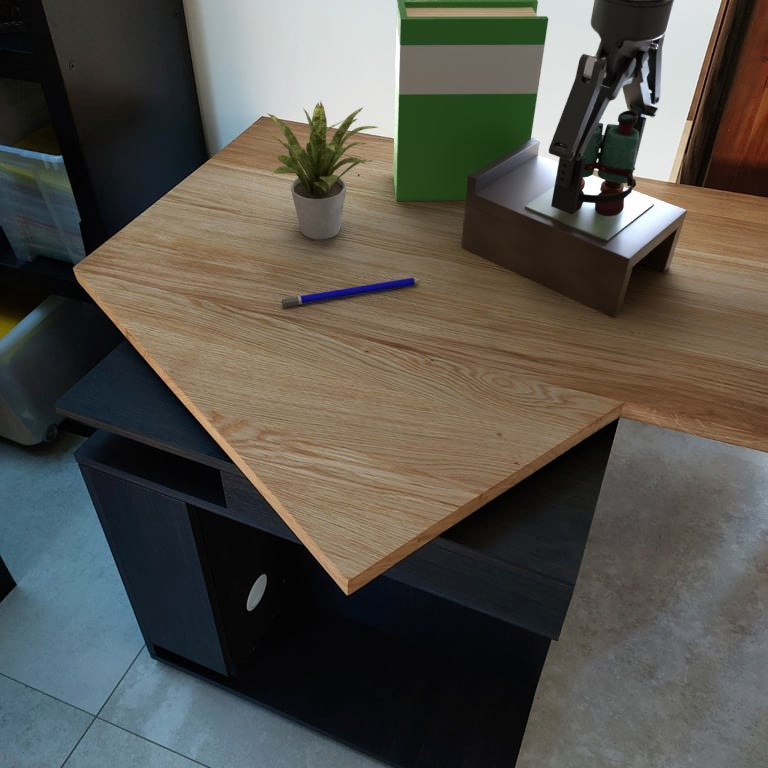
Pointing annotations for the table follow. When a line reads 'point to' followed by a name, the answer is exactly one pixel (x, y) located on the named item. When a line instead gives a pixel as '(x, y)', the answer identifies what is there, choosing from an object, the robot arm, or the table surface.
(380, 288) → the pencil
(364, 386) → the table surface
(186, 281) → the table surface
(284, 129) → the house plant
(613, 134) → the binoculars
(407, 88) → the hardback book
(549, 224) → the shelf
